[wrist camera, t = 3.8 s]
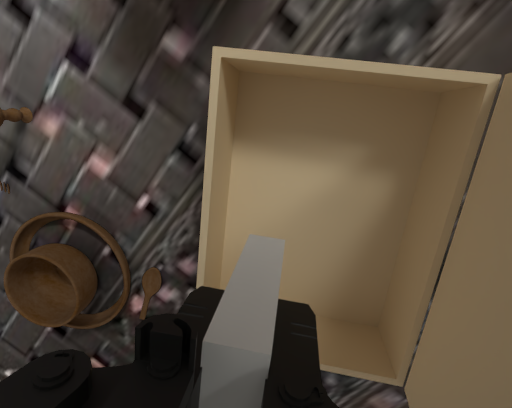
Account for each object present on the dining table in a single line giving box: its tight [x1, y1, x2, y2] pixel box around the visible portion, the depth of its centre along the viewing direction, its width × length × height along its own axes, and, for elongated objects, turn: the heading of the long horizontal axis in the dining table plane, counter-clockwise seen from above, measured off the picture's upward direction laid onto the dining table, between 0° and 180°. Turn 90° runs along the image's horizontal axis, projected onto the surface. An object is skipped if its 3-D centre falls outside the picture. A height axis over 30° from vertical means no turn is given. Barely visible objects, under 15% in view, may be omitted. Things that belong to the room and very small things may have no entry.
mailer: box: [196, 46, 502, 387], centre depth 22 cm, size 20×15×6 cm
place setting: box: [0, 107, 162, 329], centre depth 26 cm, size 18×20×6 cm
